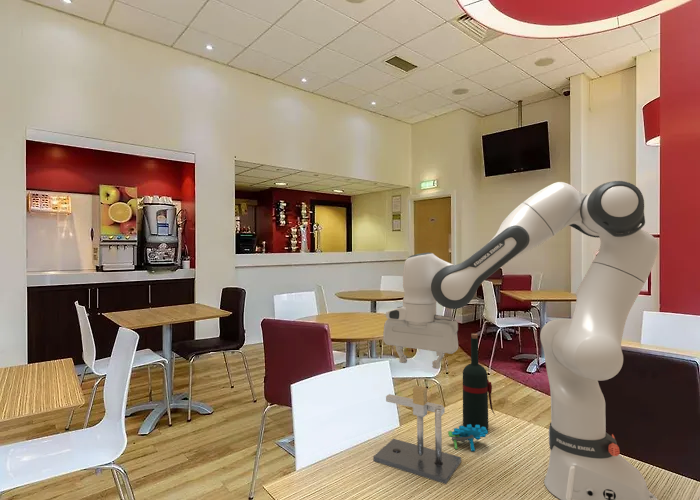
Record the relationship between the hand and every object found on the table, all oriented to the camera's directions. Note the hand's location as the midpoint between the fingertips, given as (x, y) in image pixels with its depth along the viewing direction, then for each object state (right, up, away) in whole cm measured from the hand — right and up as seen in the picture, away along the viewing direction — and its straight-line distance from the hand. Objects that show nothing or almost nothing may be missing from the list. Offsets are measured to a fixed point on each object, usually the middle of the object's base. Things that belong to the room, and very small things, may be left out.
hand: (419, 365), depth 105 cm
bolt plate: (-1, -26, 0) cm, 26 cm away
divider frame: (-1, -25, +2) cm, 25 cm away
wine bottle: (+22, -26, +19) cm, 39 cm away
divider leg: (0, -24, 0) cm, 24 cm away
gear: (+16, -26, +9) cm, 32 cm away
